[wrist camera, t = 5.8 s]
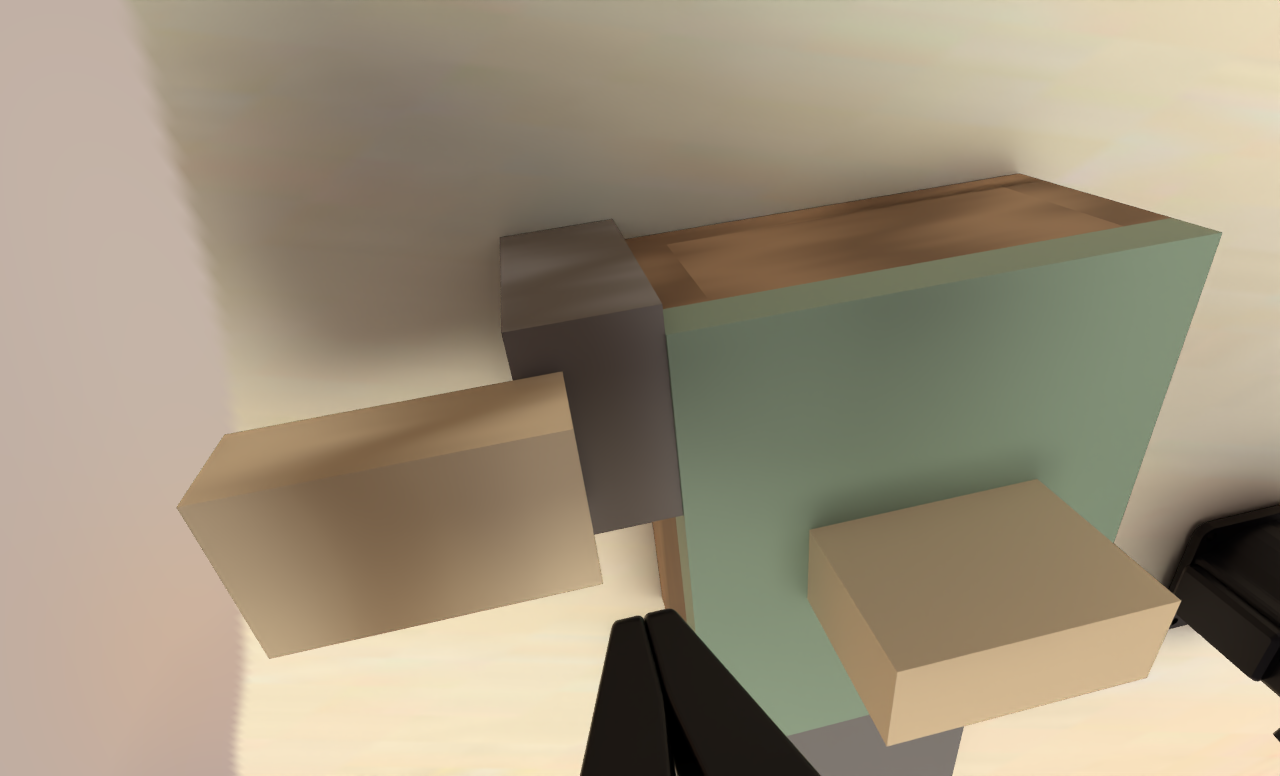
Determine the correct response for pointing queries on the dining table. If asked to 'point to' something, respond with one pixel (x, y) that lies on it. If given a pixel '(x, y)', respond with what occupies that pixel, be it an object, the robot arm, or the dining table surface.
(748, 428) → the lid
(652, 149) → the dining table surface
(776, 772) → the robot arm
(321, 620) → the wooden block
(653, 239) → the toolbox
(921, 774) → the mat
